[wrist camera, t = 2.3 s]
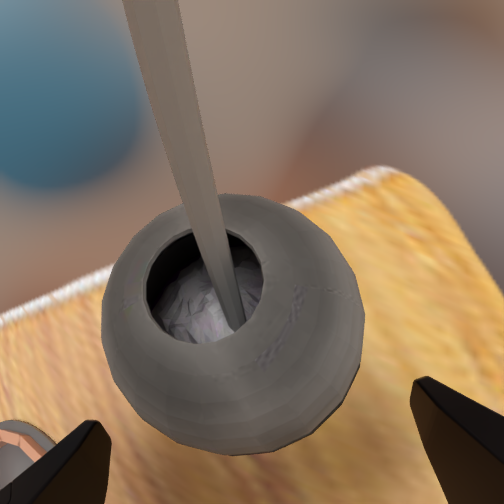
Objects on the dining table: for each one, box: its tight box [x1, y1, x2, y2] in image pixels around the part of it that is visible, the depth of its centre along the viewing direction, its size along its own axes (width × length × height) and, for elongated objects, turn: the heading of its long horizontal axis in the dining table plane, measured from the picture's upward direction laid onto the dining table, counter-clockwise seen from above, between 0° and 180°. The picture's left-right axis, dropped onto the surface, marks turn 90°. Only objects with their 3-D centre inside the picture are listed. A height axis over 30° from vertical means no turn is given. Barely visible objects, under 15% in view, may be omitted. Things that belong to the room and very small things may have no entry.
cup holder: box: [0, 420, 56, 490], centre depth 14 cm, size 13×13×2 cm
